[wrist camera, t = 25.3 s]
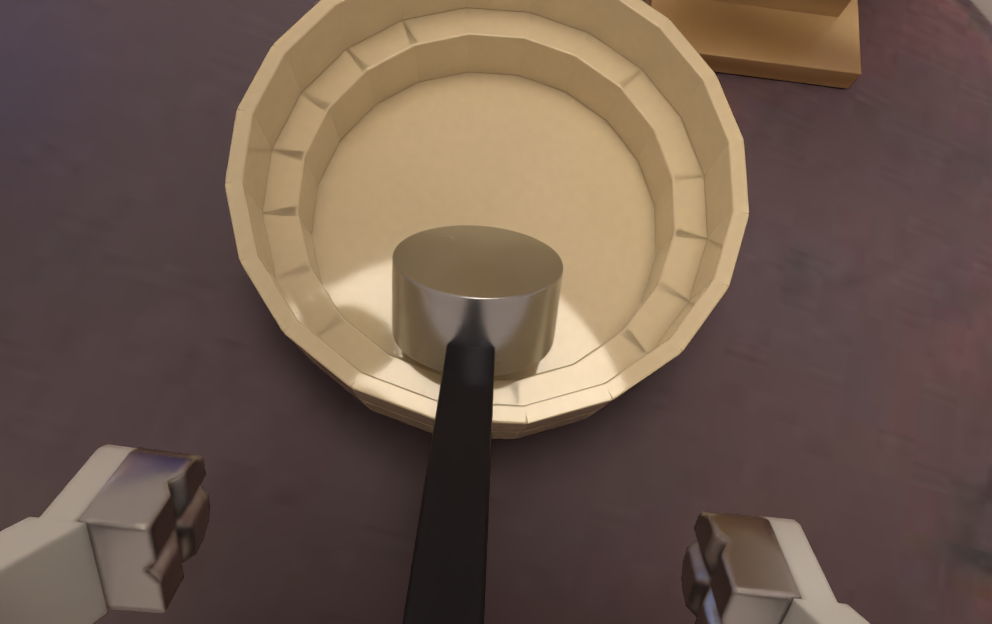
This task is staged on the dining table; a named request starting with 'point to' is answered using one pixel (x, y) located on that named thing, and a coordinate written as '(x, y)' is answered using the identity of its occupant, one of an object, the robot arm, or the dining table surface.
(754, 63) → the wooden column stand
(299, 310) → the bowl
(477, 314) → the black handled spatula
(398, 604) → the dining table surface
